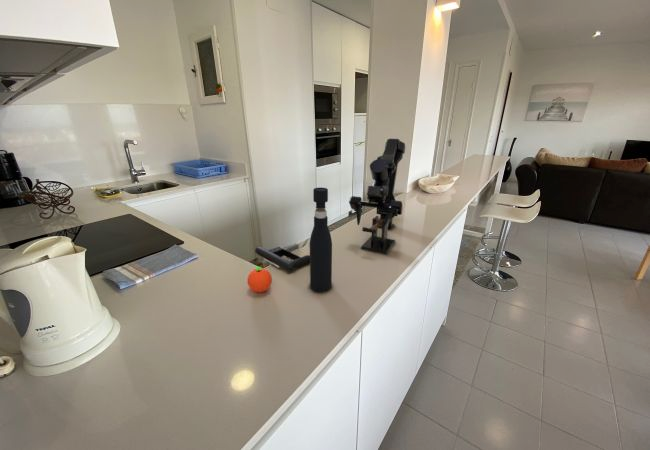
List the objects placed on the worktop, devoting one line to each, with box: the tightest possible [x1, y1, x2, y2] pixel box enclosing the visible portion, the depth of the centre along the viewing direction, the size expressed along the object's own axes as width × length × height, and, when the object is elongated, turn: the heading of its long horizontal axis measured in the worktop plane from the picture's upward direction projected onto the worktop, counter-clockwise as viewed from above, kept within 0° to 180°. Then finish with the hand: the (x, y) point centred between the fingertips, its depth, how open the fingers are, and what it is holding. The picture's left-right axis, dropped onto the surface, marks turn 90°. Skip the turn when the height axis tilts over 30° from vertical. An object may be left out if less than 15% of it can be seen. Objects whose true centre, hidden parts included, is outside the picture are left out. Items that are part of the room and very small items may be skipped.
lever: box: [361, 218, 384, 235], centre depth 102 cm, size 14×5×2 cm, turn 151°
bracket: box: [360, 215, 396, 255], centre depth 108 cm, size 12×10×12 cm
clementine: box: [247, 266, 273, 293], centre depth 81 cm, size 8×7×7 cm
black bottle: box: [309, 187, 333, 293], centre depth 78 cm, size 6×6×30 cm
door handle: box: [254, 243, 310, 273], centre depth 100 cm, size 3×20×16 cm
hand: (370, 226), depth 97 cm, fingers open, 9 cm apart
